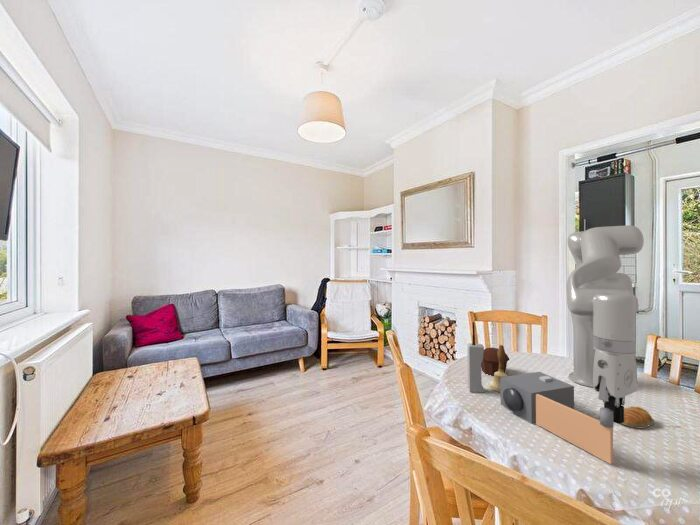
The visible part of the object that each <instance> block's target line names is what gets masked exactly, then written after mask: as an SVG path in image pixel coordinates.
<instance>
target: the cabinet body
mask: <svg viewBox="0 0 700 525" xmlns="http://www.w3.org/2000/svg"><path fill="white" fill-rule="evenodd" d="M500 379H501V392H500V405H501V406H503V407H504V408H505V409H508V410H509V411H511V412H512V413H513V414H516V415H517V416H519V417H520V418H522V419H523V420H524V421H526V422H528V423H530V424H531V425H533V424H536V394H539V395H542V396H544V397H546V398H549V399H551V400H553V401H555V402H558V403H560V404H562V405H565V406H567V407H569V408H572V409H574V410H575V386H574V385H573V384H570V383H568V382H565V381H562V380H560V379H557V378H556V377H553V376H551V375H548V374H546V373H544V372H541V371H534V372H527V373H520V374H514V375H508V376H506V377H500Z"/></svg>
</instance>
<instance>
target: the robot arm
mask: <svg viewBox="0 0 700 525" xmlns="http://www.w3.org/2000/svg"><path fill="white" fill-rule="evenodd" d="M644 243H645V241H644V235H643V232H642V231H641V229H640V228H639V227H638V226H636V225H631V224H629V225H614V226H613V225H612V226H598V227H597V226H596V227H591V228H588V229H586V230H583V231H577V232H572V233H570V234H569V235H568V237H567V246H568V249H569V251H570V253H571V255H572V257H573V258H574V261H575V269H573V270H572V272H571V273H570V275H569V276H568V278H567V280H566V285H565V286H566V287H565V288H566V290H565V292H566V304H567V308H568V310H569V312H570V316H571V321H572V332H573V335H572V337H573V339H572V340H573V341H572V342H573V343H572V344H573V348H572V349H573V350H572V351H573V358H572V359H573V361H572V362H573V372H569V373H568V379H569V380H570V381H571V382H574V383H576V384H578V385H581V386H586V387H589V388H593V389H594V391H595V392H598V400H600V401H602V403H603V408H608V409H611V410H612V411H613V423H615V424H617V425H621V423H623V422H624V408H625V403H626V397H627V396H630V395H632V394H633V393H636V392H637V391H638V388H639V382H638V367H637V360H636V359H637V358H636V314H637V313H638V311H639V299H638V297H637V296H636V295H635V294H634V290H633V287H634V286H633V282H632V281H633V280H632V279H631V277H630V276H629V275H628V274H626V273H623V272H619V271H620V269H621V267H622V260H621V257H620V256H625V255H627V256H628V255H634V254H636V255H637V254H638V253H639V252H641V251H642V249H643V247H644Z"/></svg>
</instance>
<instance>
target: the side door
mask: <svg viewBox="0 0 700 525" xmlns="http://www.w3.org/2000/svg"><path fill="white" fill-rule="evenodd" d="M535 424H536V425H537V426H539V427H540V428H543V429H545V430H546V431H549V432H550V433H552V434H554V435H556V436H558V437H560V438H562V439H563V440H565V441H567V442H569V443H570V444H572V445H574V446H576V447H578V448H580V449H582V450H584V451H585V452H588V453H589V454H592V456H593V455H594V456H596V457H597V458H599V459H600V460H603V461H604V462H607V463H608V464H610V465H611V464H614V422H613V411H612V410H611V409H608V408H604V406H603V407H600V408H599V419H596V418H594V417H592V416H590V415H587V414H585V413H583V412H580V411H579V410H576V409H575V408H574V409H572V408H569V407H567V406H565V405H562V404H560V403H558V402H555V401H553V400H551V399H549V398H546V397H544V396H542V395H539V394H536V423H535Z"/></svg>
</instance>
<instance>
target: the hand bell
mask: <svg viewBox="0 0 700 525" xmlns="http://www.w3.org/2000/svg"><path fill="white" fill-rule="evenodd" d="M497 349H498V352H497V356H498V360H499V369H498V371H497V372H495V373H494V376H493V379H492V380H491V382H490V383H489V384H488V388H489V389H491V390H493V391H494V392H498V393H501V379H500V377H506V376H509V375H508V373H506V372H505V373H504V359H505V353H506V350H505V347H504V345H502V344H500V345H499V346H498V348H497Z"/></svg>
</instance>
